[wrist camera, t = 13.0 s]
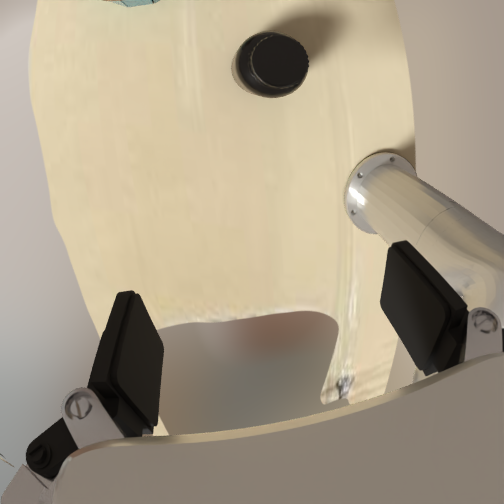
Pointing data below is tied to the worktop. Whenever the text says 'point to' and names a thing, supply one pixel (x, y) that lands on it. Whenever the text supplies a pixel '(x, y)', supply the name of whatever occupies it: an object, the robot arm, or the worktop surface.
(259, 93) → the supplement bottle
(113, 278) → the worktop surface
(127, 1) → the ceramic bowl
